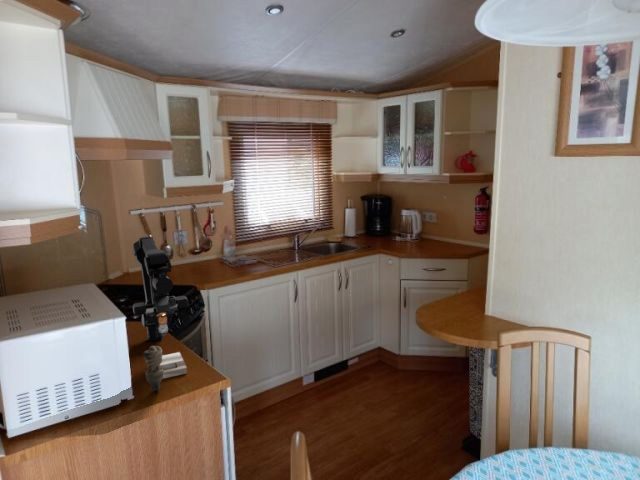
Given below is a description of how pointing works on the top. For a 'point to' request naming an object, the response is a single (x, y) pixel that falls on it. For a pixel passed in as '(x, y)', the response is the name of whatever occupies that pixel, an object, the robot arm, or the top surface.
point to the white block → (173, 365)
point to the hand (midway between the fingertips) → (163, 327)
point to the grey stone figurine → (154, 367)
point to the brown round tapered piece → (162, 322)
